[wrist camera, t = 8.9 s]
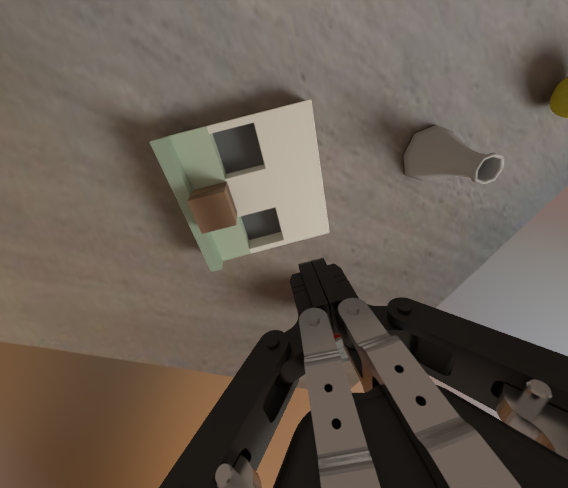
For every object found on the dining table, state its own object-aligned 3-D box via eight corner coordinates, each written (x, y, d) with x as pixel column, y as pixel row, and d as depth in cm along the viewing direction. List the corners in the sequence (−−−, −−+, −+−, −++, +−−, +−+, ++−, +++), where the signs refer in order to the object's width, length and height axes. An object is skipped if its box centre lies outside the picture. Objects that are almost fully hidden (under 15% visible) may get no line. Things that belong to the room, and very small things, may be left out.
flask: (408, 126, 31) (470, 132, 23) (458, 123, 32) (537, 129, 23) (396, 181, 35) (446, 205, 26) (442, 178, 36) (505, 200, 27)
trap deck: (305, 100, 28) (316, 98, 24) (323, 223, 36) (334, 239, 32) (163, 136, 28) (149, 141, 24) (215, 252, 36) (211, 271, 32)
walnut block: (226, 181, 28) (224, 191, 25) (237, 211, 30) (236, 225, 27) (193, 189, 28) (186, 201, 25) (206, 219, 30) (201, 234, 27)
